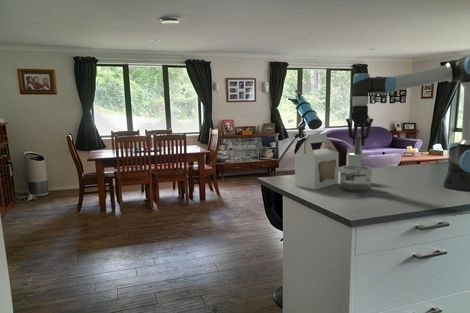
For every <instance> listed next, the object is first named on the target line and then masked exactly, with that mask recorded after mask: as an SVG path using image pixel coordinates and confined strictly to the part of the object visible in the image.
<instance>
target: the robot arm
mask: <svg viewBox="0 0 470 313" xmlns="http://www.w3.org/2000/svg"><path fill="white" fill-rule="evenodd" d="M446 81H447V82H449V83H452V82H459V81H460V85H461V86H462V87H463V88H464V90H463V106H462V108H463V109H462V123H461V124H462V126H461V128H462V129H461V140H459V141H458V142H451V143H450V144H449V147H448V164H447V168H448V169H447V172H446V174H445V177H444V179H443V182H442V186H443V187H444V188H445V189H450V190H455V191H462V192H463V191H466V192H467V191H468V192H469V191H470V53H469V54H468V55H465V56H463V57H461V58H458V59H456V60H454V61H450V62H449V61H448V62H446V63H445V65H441V66H440V65H439V66H436V67H431V68H427V69H422V70H417V71H411V72H407V73H402V74H397V75H394V76H380V77H379V76H377V77H373V76H372V77H371V76H370V73H367V72H366V73H363V72H362V73H355V74H354V75H353V77H352V103H351V104H352V105H353V106H352V107H351V115H350V117H348V118H346V119H345V121H346V123H347V129H348V138H350V139H352V146H355V136H358V129H359V128H358V127H359V125H360V136H361V139H360V147H359V152H360V153H361V152H362V153H363V147H364V146H365V145H366V144H365V143H366V142H365V141H366V139H369V137H370V133H371V128H372V124H373V122H374V118H371V117H370V115H369V105H368V104H369V97H370V96H369V94H377V95H383V94H386V93H387V94H390V93H394V92H396V91H401V90H406V89H411V88H417V87H422V86H426V85H432V84H438V83H441V82H442V83H443V82H446ZM352 122H353V125H352ZM366 122H367V127H366V129H365V125H366V124H365V123H366Z"/></svg>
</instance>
